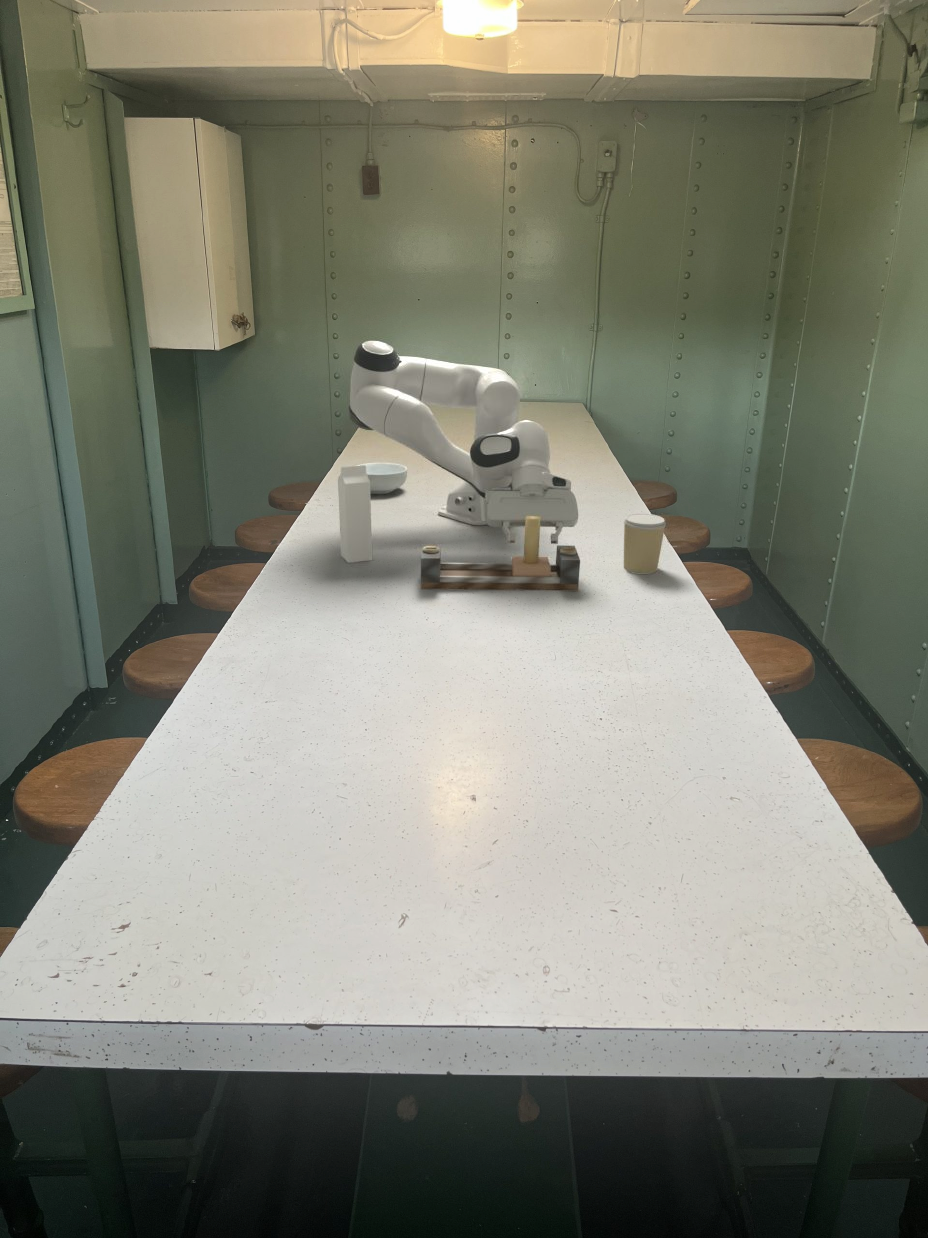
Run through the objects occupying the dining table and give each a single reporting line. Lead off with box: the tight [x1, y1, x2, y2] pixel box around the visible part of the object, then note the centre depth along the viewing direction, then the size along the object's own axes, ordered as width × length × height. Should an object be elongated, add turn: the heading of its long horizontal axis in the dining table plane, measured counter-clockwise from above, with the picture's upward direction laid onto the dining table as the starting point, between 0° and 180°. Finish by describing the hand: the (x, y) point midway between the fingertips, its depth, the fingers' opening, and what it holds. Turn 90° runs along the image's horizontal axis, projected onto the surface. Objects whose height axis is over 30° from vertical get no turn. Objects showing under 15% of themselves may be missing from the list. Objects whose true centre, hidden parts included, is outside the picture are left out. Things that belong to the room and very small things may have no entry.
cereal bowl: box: [356, 462, 408, 495], centre depth 265 cm, size 17×17×7 cm
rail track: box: [420, 543, 581, 592], centre depth 193 cm, size 34×10×8 cm, turn 90°
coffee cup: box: [623, 513, 667, 575], centre depth 202 cm, size 9×9×12 cm
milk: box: [337, 465, 373, 564], centre depth 204 cm, size 6×6×22 cm
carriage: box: [511, 516, 551, 577], centre depth 191 cm, size 8×7×13 cm
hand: (533, 542), depth 192 cm, fingers open, 8 cm apart
